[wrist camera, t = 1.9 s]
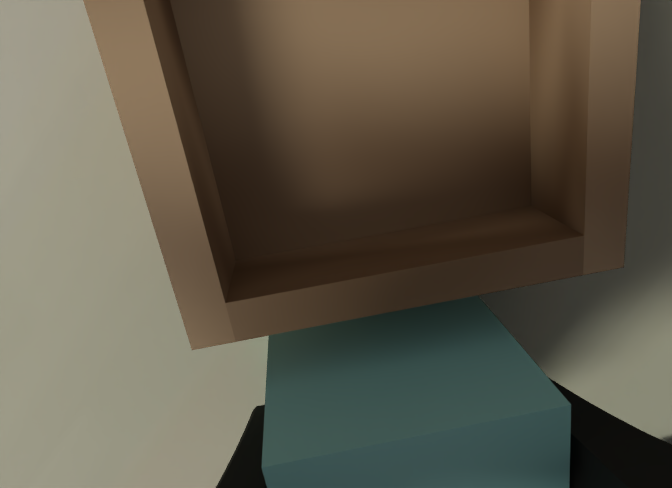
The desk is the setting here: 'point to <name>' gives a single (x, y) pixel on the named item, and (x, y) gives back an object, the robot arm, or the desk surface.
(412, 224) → the walnut puzzle board
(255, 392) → the desk surface
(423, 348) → the teal block
